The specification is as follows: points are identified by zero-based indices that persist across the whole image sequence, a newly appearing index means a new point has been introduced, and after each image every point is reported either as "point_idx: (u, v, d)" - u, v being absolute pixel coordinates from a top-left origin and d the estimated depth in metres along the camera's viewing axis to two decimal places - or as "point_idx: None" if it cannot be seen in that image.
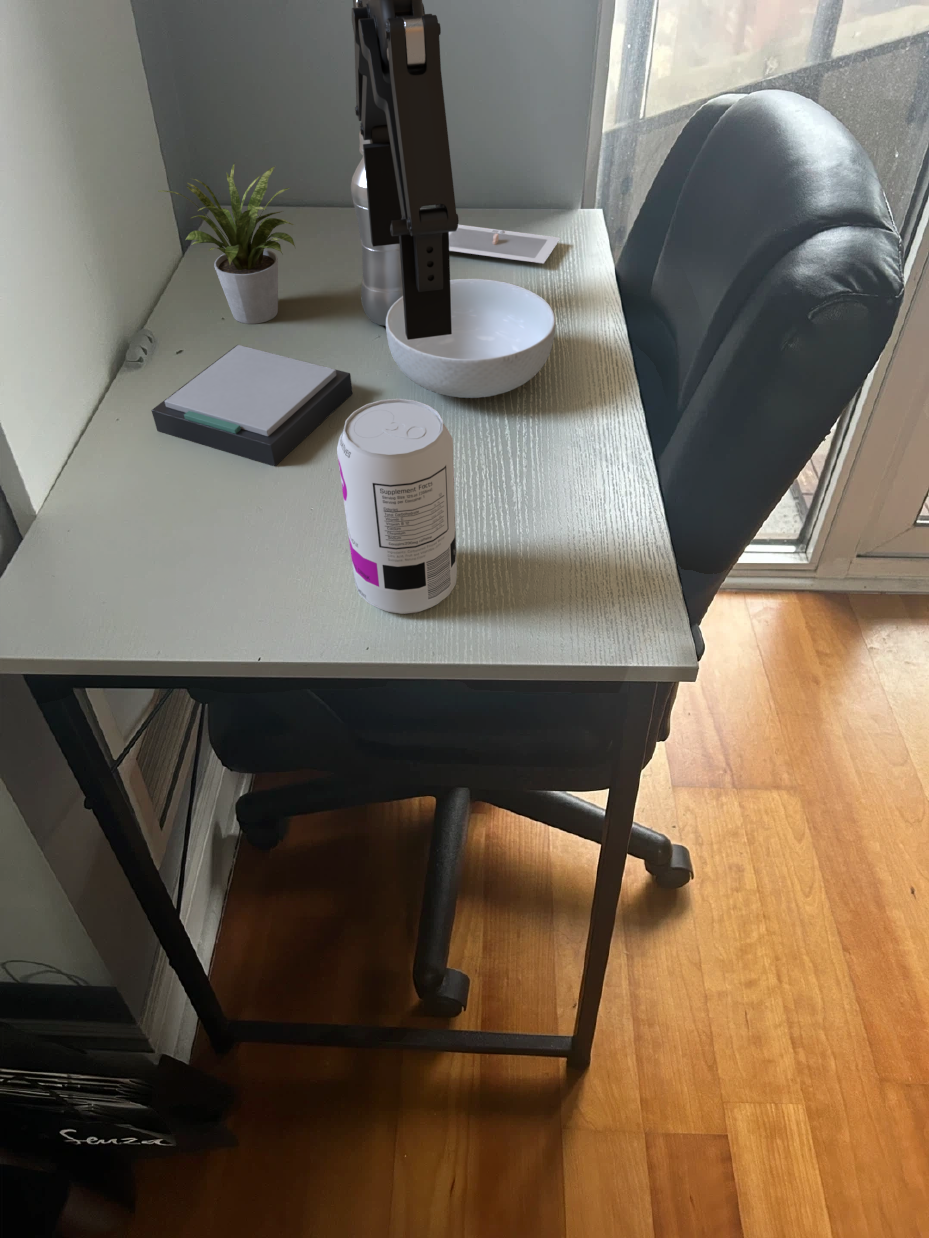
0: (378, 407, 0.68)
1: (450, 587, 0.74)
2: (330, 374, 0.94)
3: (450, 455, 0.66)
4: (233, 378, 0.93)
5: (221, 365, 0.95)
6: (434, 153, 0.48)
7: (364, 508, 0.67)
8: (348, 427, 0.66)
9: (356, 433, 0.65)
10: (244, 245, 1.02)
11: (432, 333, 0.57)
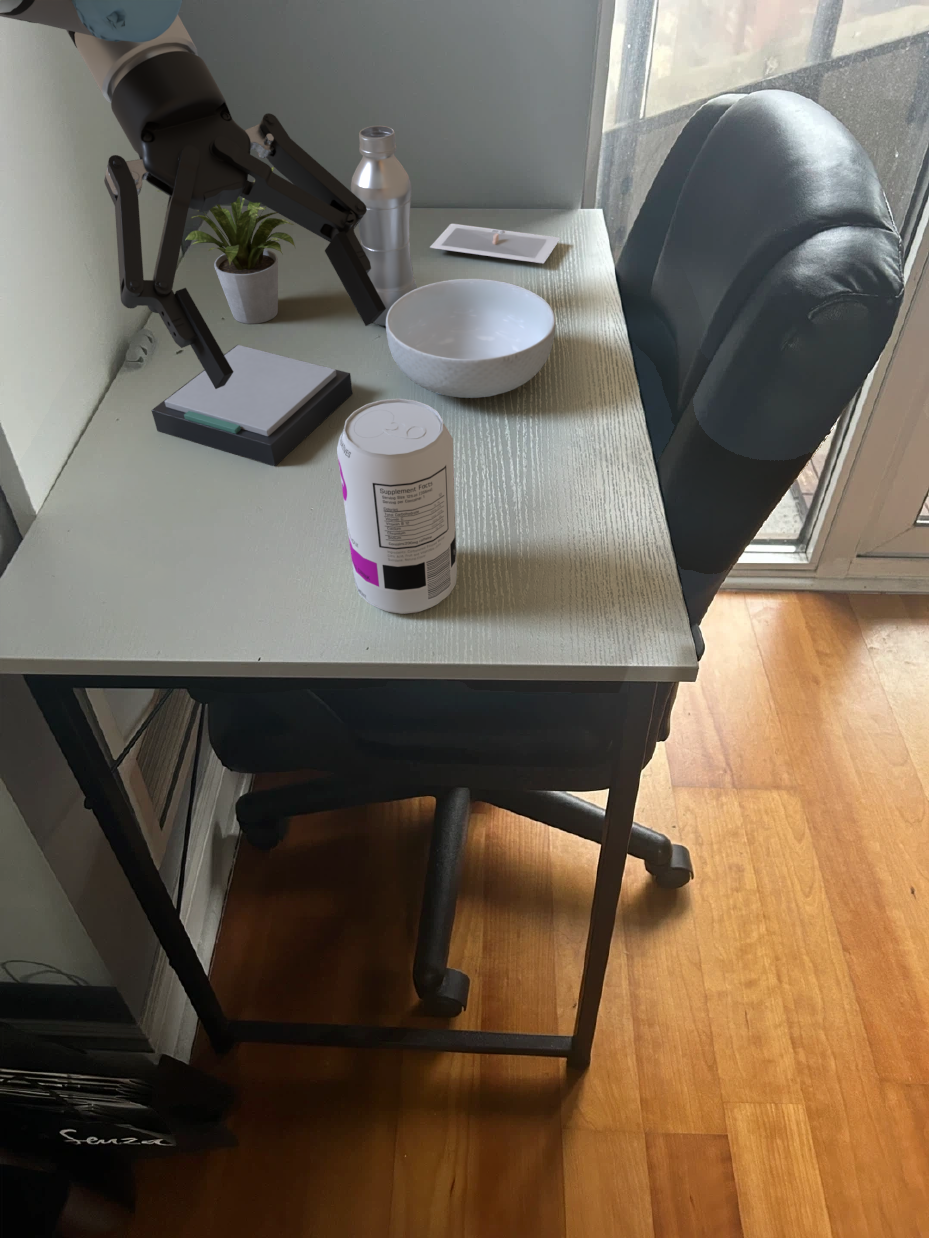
0: (378, 407, 0.68)
1: (450, 587, 0.74)
2: (330, 374, 0.94)
3: (450, 455, 0.66)
4: (233, 378, 0.93)
5: None
6: (121, 245, 0.64)
7: (364, 508, 0.67)
8: (348, 427, 0.66)
9: (356, 433, 0.65)
10: (244, 245, 1.02)
11: (219, 379, 0.67)
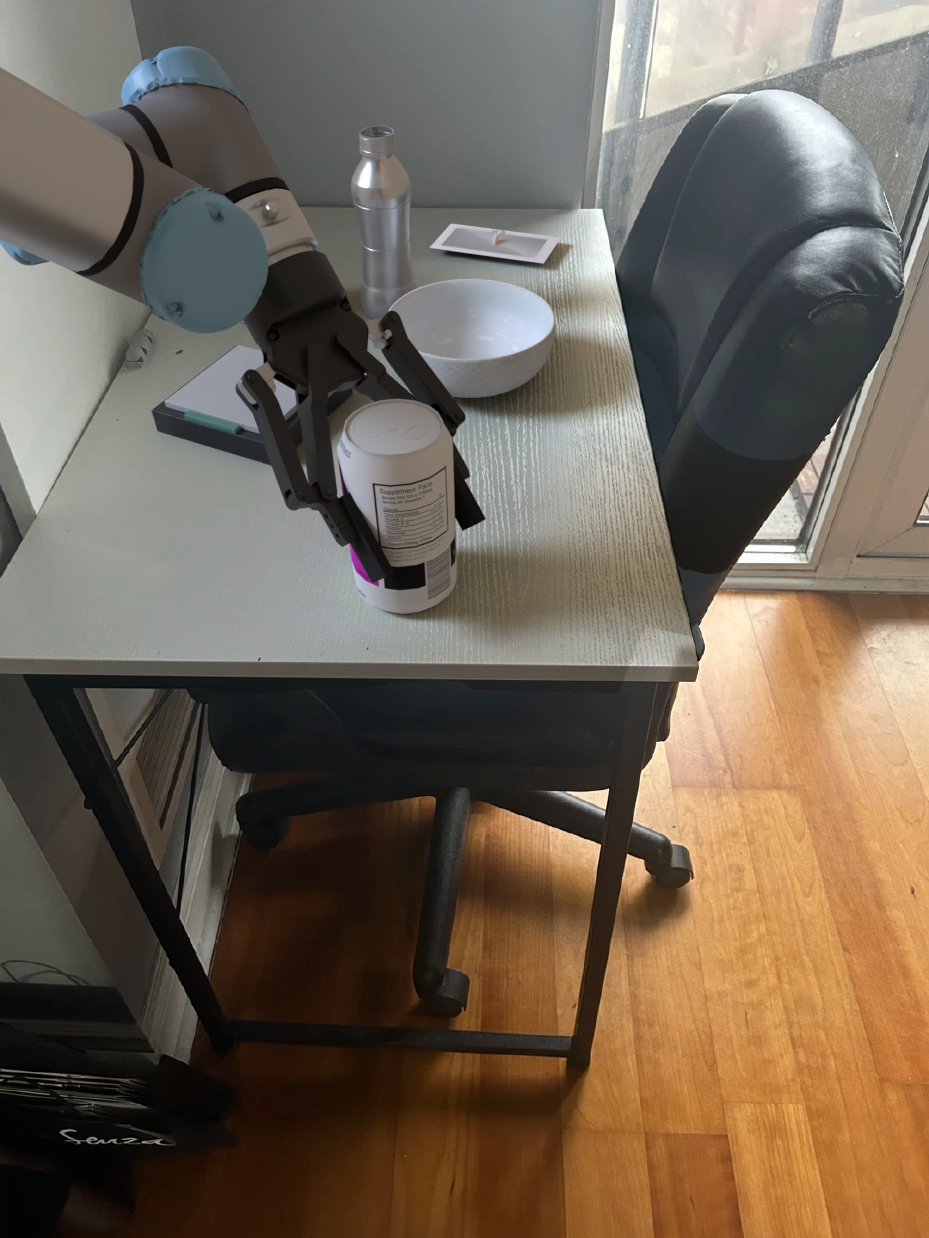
0: (378, 407, 0.68)
1: (450, 587, 0.74)
2: None
3: (450, 455, 0.66)
4: (233, 378, 0.93)
5: (221, 365, 0.95)
6: (276, 456, 0.65)
7: (363, 509, 0.67)
8: (348, 427, 0.66)
9: (356, 433, 0.65)
10: None
11: (379, 577, 0.68)
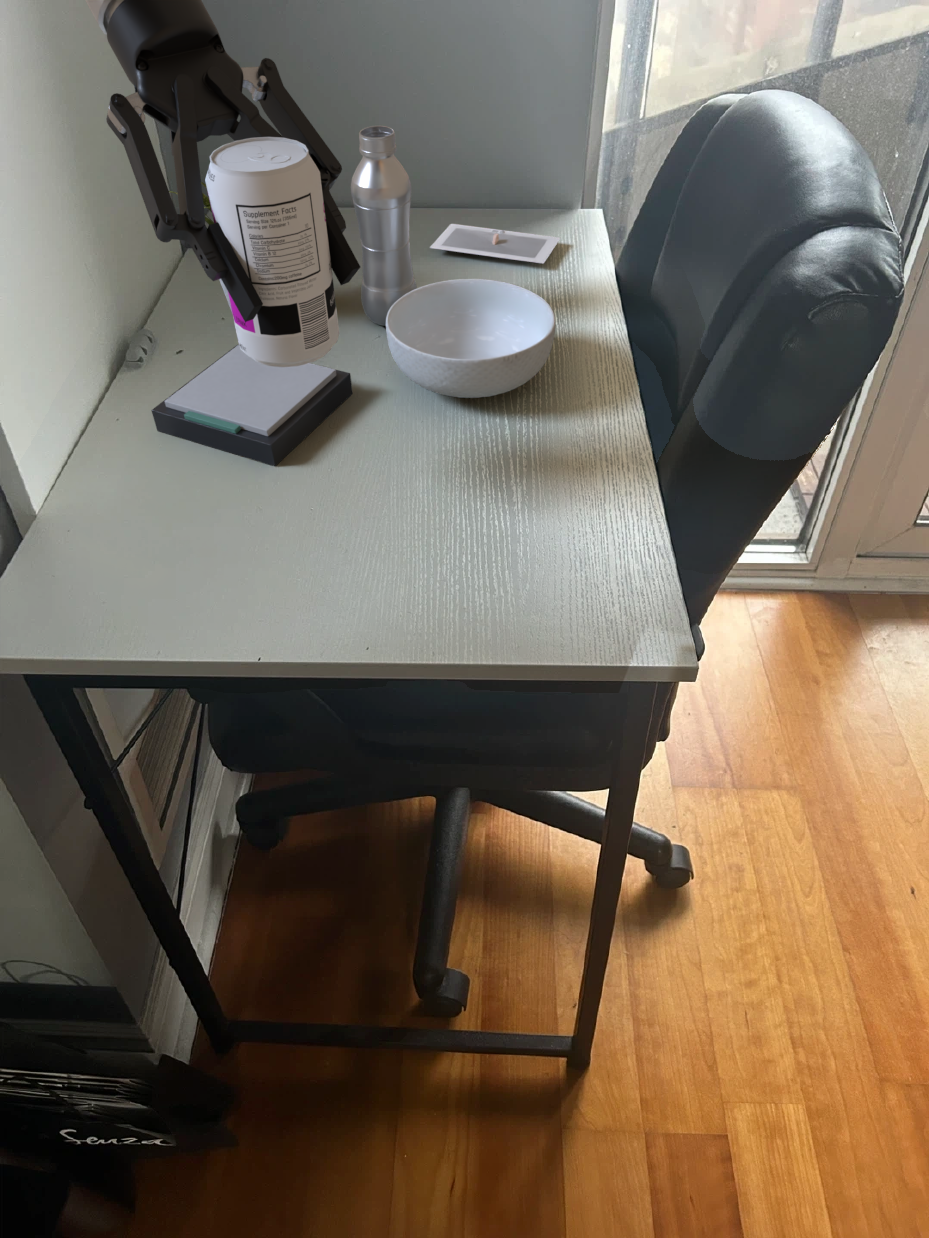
0: (248, 143, 0.69)
1: (329, 342, 0.75)
2: (330, 374, 0.94)
3: (315, 184, 0.67)
4: (233, 378, 0.93)
5: (221, 365, 0.95)
6: (144, 182, 0.67)
7: (231, 238, 0.68)
8: (215, 156, 0.67)
9: (222, 160, 0.67)
10: None
11: (249, 311, 0.70)
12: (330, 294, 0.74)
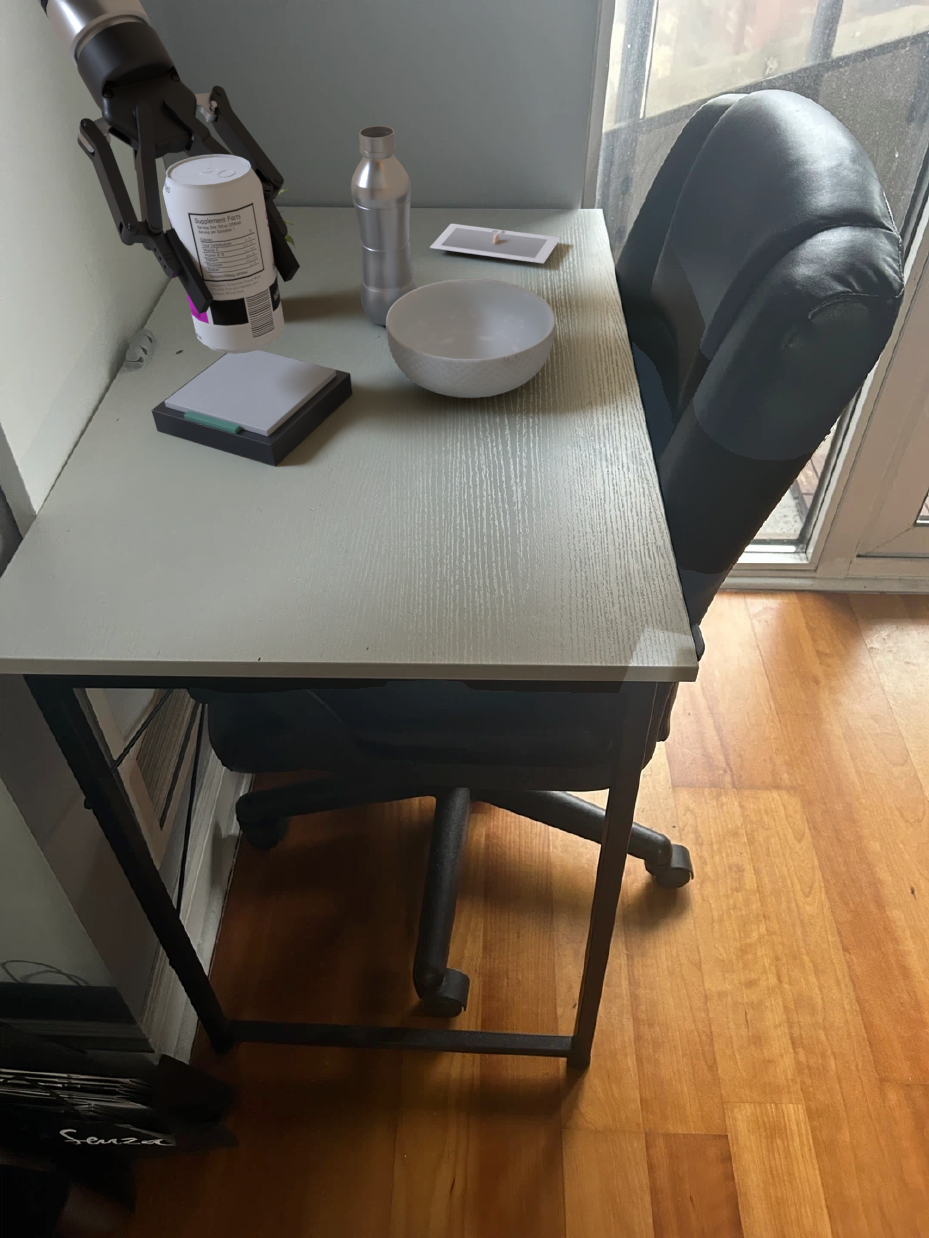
0: (200, 160, 0.80)
1: (274, 332, 0.86)
2: (330, 374, 0.94)
3: (257, 195, 0.79)
4: (233, 378, 0.93)
5: (221, 365, 0.95)
6: (110, 194, 0.78)
7: (185, 242, 0.79)
8: (171, 171, 0.78)
9: (176, 174, 0.78)
10: None
11: (201, 304, 0.81)
12: (274, 290, 0.85)
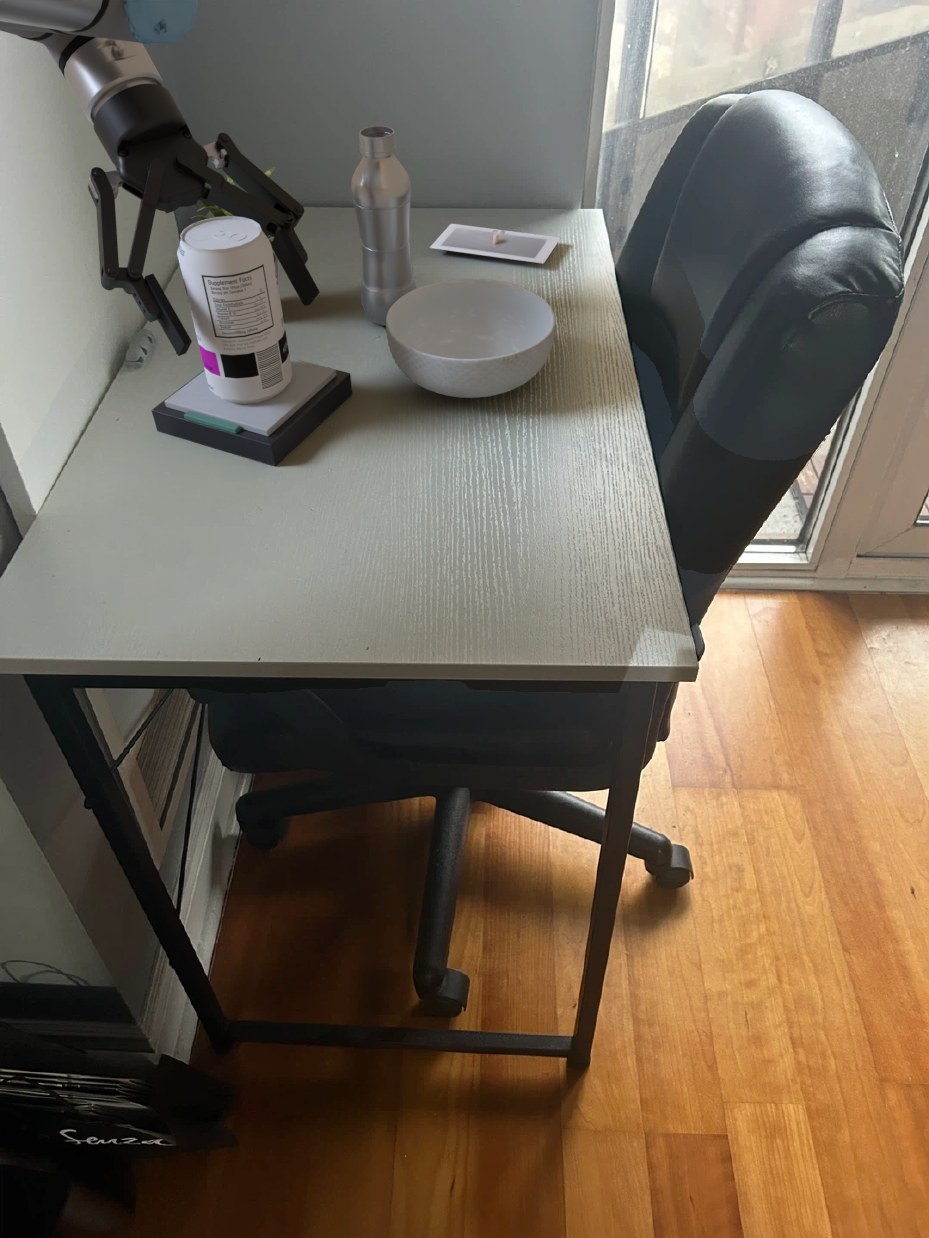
0: (212, 222, 0.84)
1: (283, 382, 0.90)
2: (330, 374, 0.94)
3: (267, 257, 0.82)
4: None
5: None
6: (101, 239, 0.80)
7: (199, 301, 0.83)
8: (185, 234, 0.82)
9: (190, 238, 0.82)
10: None
11: (180, 347, 0.83)
12: (283, 343, 0.88)
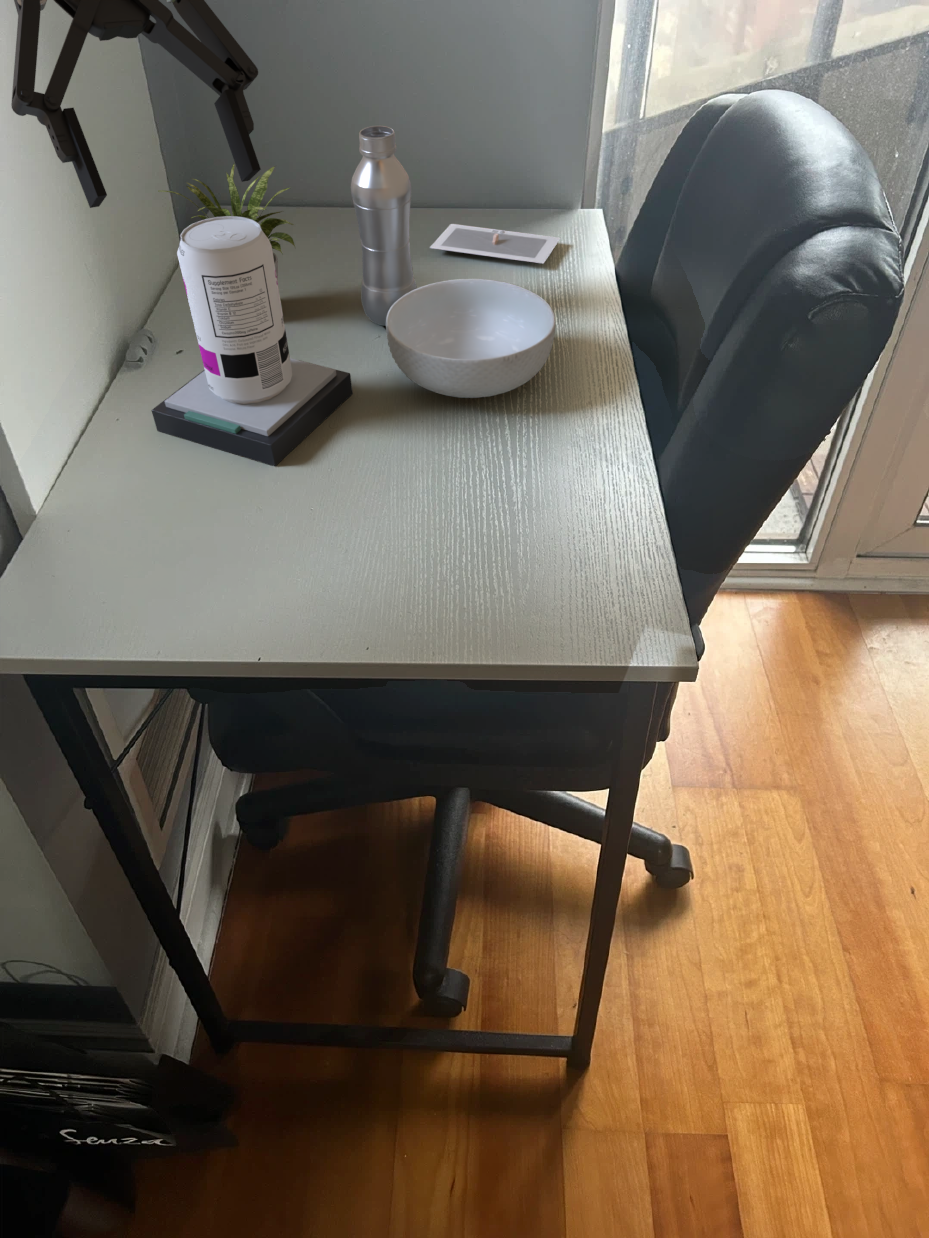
0: (212, 222, 0.84)
1: (283, 382, 0.90)
2: (330, 374, 0.94)
3: (267, 257, 0.82)
4: None
5: None
6: (17, 54, 0.71)
7: (199, 301, 0.83)
8: (185, 234, 0.82)
9: (190, 238, 0.82)
10: None
11: (93, 199, 0.74)
12: (283, 343, 0.88)
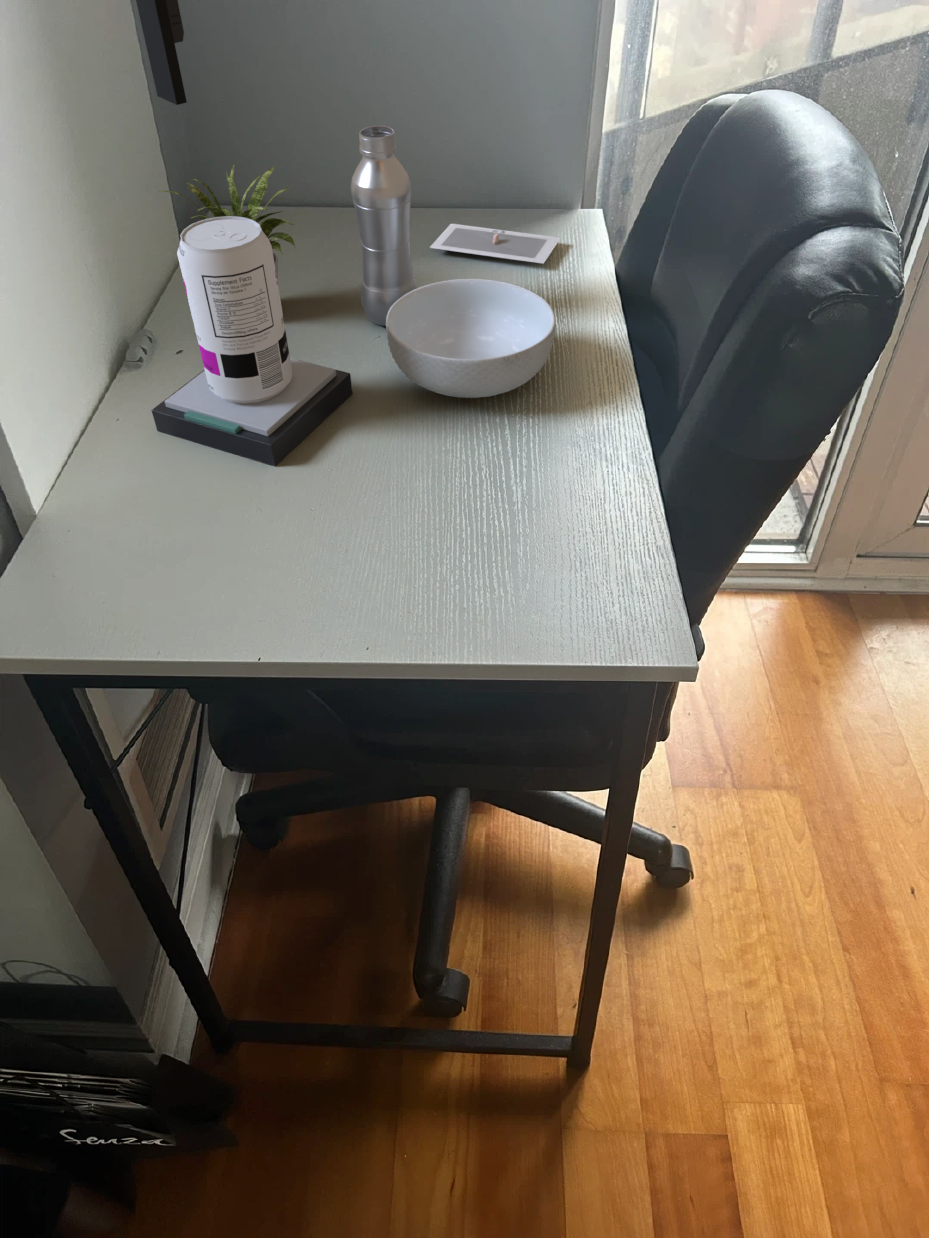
0: (212, 222, 0.84)
1: (283, 382, 0.90)
2: (330, 374, 0.94)
3: (267, 257, 0.82)
4: None
5: None
6: None
7: (199, 301, 0.83)
8: (185, 234, 0.82)
9: (190, 238, 0.82)
10: None
11: None
12: (283, 343, 0.88)
